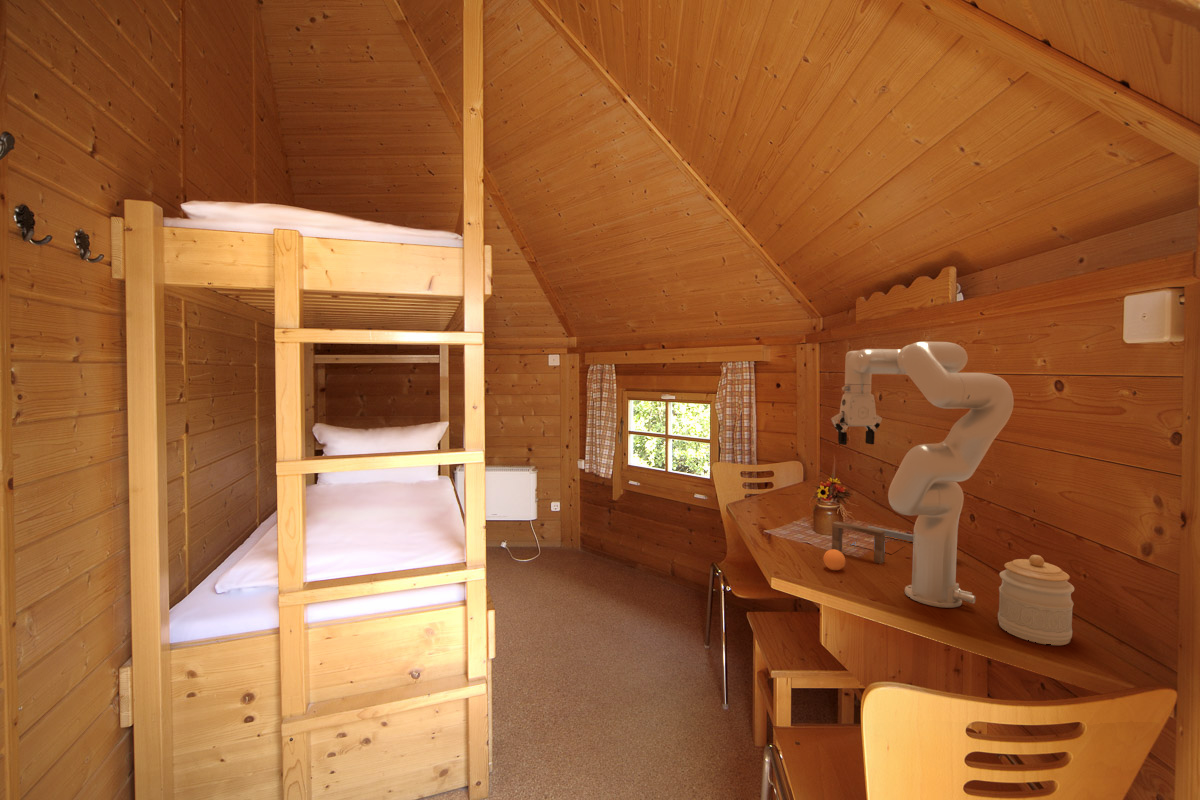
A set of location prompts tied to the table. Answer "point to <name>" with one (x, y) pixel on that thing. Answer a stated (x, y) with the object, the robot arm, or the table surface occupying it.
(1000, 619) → the jar
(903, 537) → the grey long bar
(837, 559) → the ball
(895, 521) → the table surface
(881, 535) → the bridge
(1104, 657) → the table surface
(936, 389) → the robot arm
